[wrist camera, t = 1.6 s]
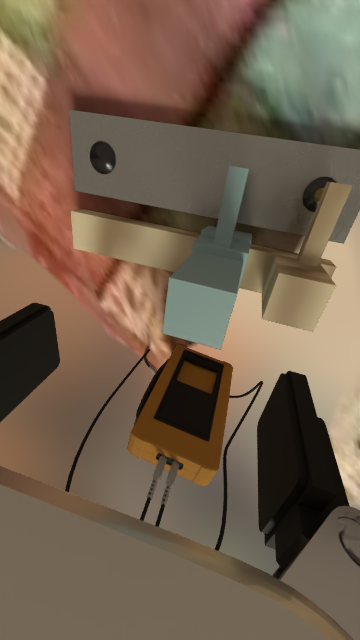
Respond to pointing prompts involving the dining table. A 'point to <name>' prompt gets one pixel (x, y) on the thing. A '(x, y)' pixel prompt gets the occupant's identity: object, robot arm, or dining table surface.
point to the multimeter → (182, 422)
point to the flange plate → (210, 170)
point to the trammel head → (210, 274)
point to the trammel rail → (261, 267)
